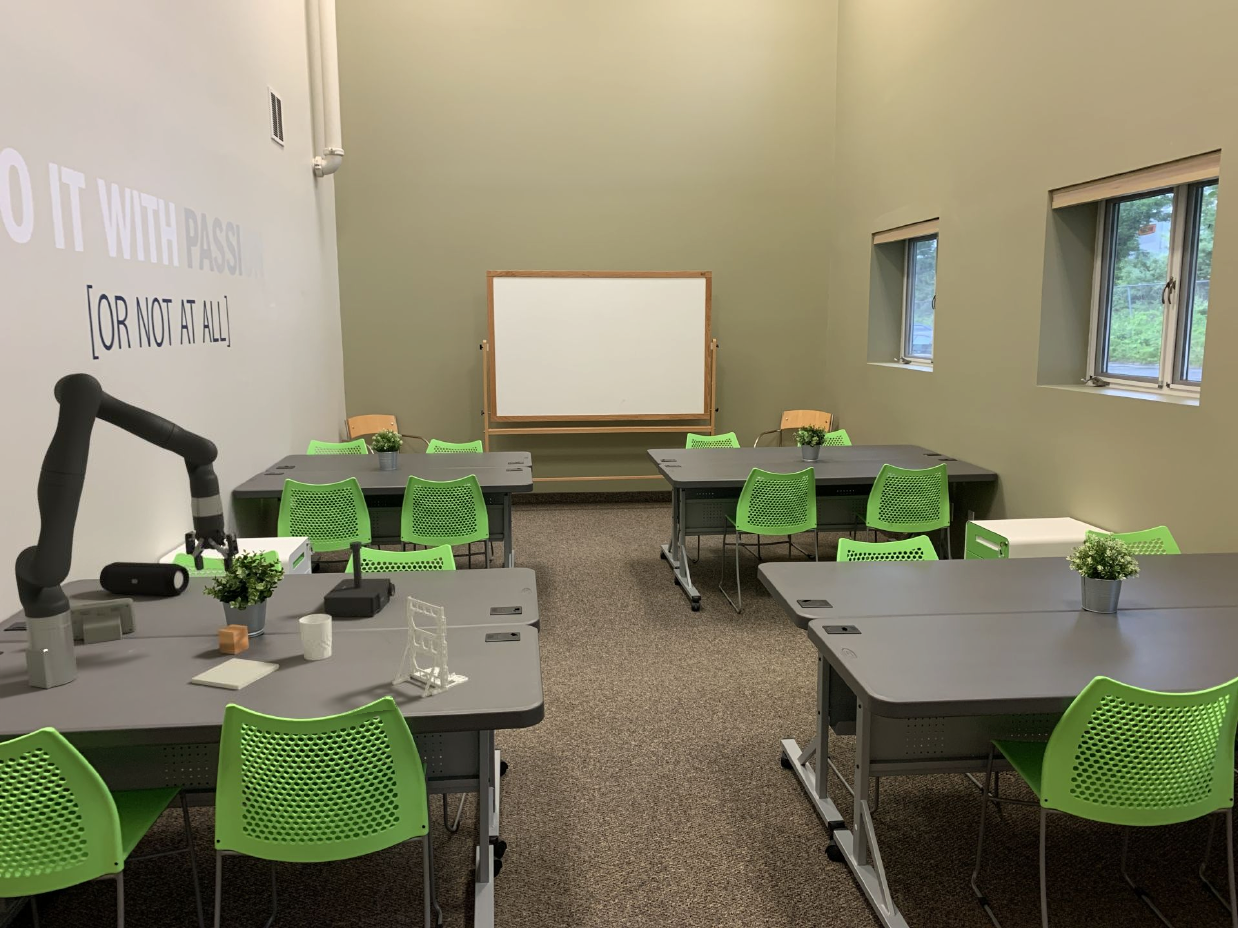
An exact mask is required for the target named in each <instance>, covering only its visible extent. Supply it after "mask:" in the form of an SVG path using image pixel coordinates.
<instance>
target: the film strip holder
mask: <svg viewBox="0 0 1238 928" xmlns="http://www.w3.org/2000/svg"><path fill="white" fill-rule="evenodd" d="M406 598H407V599H406V600H407V601H406V602H407V605H406V614H407V617H406V618H407V624H408V625H407V626H408V630H407V633H408V634H407V636H406V639H407V644H406V646H405V650H404V653H403V654H402V658H401V661H400V664H399V667H398V669H397V673H396V676H395V679H392V681H391V684H392V685H393V686H395V685H399V684H400V683H401V684H402V683H404V682H406V681H410V680H411V678H414V679H416V680H419V681H421V682H423V683H425V684H426V685H425V688H424V692H421V693H420V697H421V698H427V697H429V696H432V697H433V696H436V695H440V694H442V693H444V692H448V690H449V689H451V688H454V687H456V686H458V685H459V686H460V685H462V684H464V683H467V682H469V677H467V676H464V675H460V674H456V673H455V672H453V673H451V674H450V672H449V667H448V666H447V662H448V660H449V658H448V643H447V641H446V637H447V622H446V621H447V619H446V617H445V613H444V612H445V611H444V610H445V609H444V607H443V606H441V607H440V606H437V605H433V604H431V603H427V602H424V601H421V600H419V599H415V598H413V597H411V596H407V597H406ZM413 605H416V606H415V607H413ZM419 606H420V607H422V610H421V609H419ZM426 609H429V612H427V611H426ZM433 611H435V612H436V615H435V614H434V613H433ZM415 612H416V613H419V614H422V615H425V616H427V617H428V616H429V617H431V618H434V620H435V625H436V627H437V630H436V633H435V634H434V633H431V632H429V631H426V630H423V629H421V628H417V627H416V625H415V622H414V619H413V617H414V614H415ZM416 636H418V638H419V640H418V642H419V643H416V638H415V637H416ZM424 639H427V647H425V643H424ZM433 642H435V643H436V645H437V646H436V647H435V649H436V651H435V650H434V646H433ZM408 649H409V654H408V655H409V670H410V672H409V673H403V674H402V675H400V674H401V673H402V669H403V667H404V663H405V661H406V660H405V659H406V658H407V653H408ZM417 652H418V653H420V654H423V655H425V656H428V657H430V658H433V659H434V662H433V664H432V667H429V668H426V669H422V668H420V667H418V665H417V662H416V659H415V658H416V654H417ZM436 664H437V665H438V667H437V666H436ZM416 671H417V672H416ZM424 675H425V677H424ZM451 681H453V683H449V682H451ZM430 686H432V687H433V688H430Z"/></svg>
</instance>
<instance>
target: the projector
mask: <svg viewBox="0 0 1238 928" xmlns="http://www.w3.org/2000/svg"><path fill="white" fill-rule="evenodd" d="M362 548H363V545H362V541H352V542H349V550H351V552H352V553H351V554H352V569H353V578H345V579H342V580H341V581H339V582H338V583H337V584H336V585H335V586H334V587H333V588H332V589H331V590H329V591H328V593H326V594H325V595H324V596H323V606H324V607H323V608H324V614H327V615H330V616H331V618H334V617H337V618H338V617H339V618H341V617H348V618H349V617H374V616H375V615H376V614H378V613H380V612H381V611H382V610H383V609H384V607H386V605H387V604H388V603H389V601H391V597H394V596H395V594H396V585H395V584H394V583H393V582H391V578H363V577H362V576H363V575H362V563H361V562H362V561H361V559H362V558H361V549H362Z"/></svg>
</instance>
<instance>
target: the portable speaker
mask: <svg viewBox="0 0 1238 928" xmlns="http://www.w3.org/2000/svg"><path fill="white" fill-rule="evenodd" d="M99 583H100V586H101V588H102V589H103V590H105V591H107V592H109V593H112V594H119V595H120V594H121V595H148V596H176V595H178V594H181V593H184V592H185V591H186V590H187V588H188V586H189V583H190V573H189V570H188V568H187V567H185V566H183V565H181V564H179V563H172V562H171V563H168V562H167V563H164V562H163V563H162V562H160V563H159V562H135V561H134V562H130V561H115V562H111V563H109V564H106V565H105V566H104V567H103V568H102V569H101V571H100V573H99Z"/></svg>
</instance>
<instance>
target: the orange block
mask: <svg viewBox="0 0 1238 928" xmlns="http://www.w3.org/2000/svg"><path fill="white" fill-rule="evenodd" d="M217 633H218V644H219V653H223V654H229V655H237V654H239V653H242V652H243V651H245V650H247V649H249V648H250V646H249V633H248V626H247V625H240V624H230V625H228V626H226V627H223V628H221V629H218V630H217Z"/></svg>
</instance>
